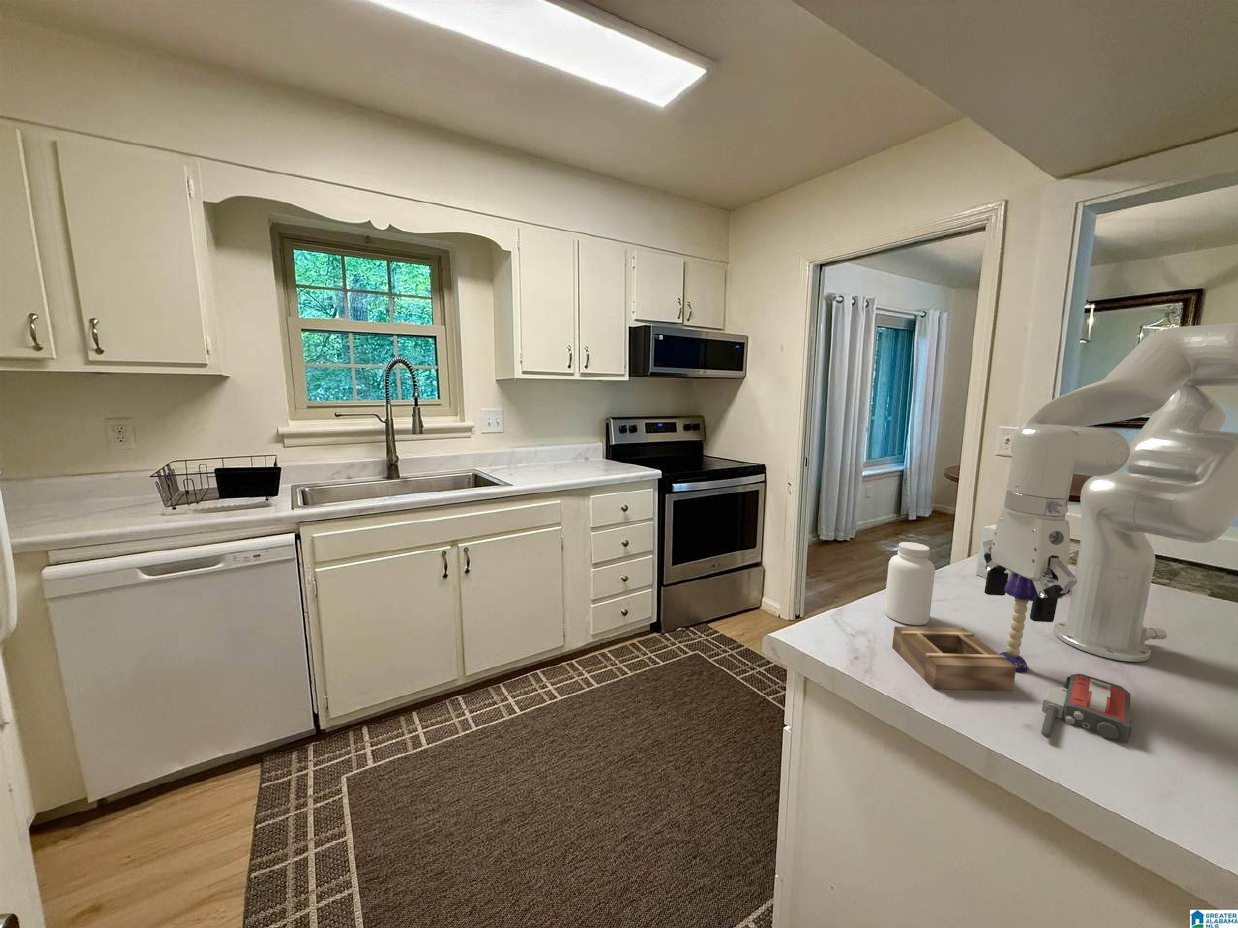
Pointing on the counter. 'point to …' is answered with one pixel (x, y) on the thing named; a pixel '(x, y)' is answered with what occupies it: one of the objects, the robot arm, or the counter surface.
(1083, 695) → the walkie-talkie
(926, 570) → the pill bottle
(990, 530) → the supplement box
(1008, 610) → the counter surface
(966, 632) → the tan wooden square frame
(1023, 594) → the toy lamp
